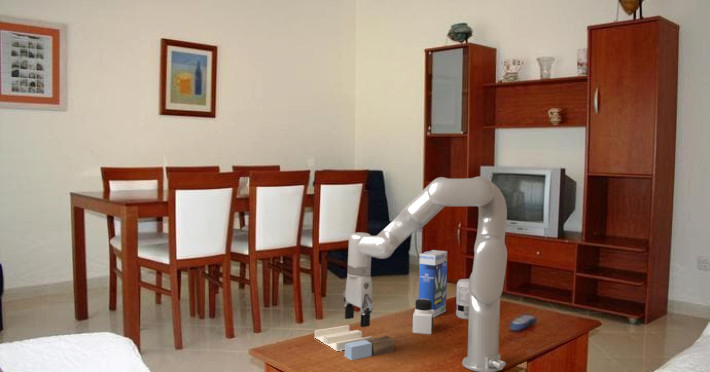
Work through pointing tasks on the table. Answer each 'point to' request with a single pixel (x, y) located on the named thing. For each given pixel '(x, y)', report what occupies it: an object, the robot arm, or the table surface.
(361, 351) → the slate bar
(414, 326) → the medicine bottle
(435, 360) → the table surface
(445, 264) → the string lights box
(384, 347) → the walnut bar
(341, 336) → the slot board
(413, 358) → the table surface
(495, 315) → the robot arm
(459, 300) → the supplement can
